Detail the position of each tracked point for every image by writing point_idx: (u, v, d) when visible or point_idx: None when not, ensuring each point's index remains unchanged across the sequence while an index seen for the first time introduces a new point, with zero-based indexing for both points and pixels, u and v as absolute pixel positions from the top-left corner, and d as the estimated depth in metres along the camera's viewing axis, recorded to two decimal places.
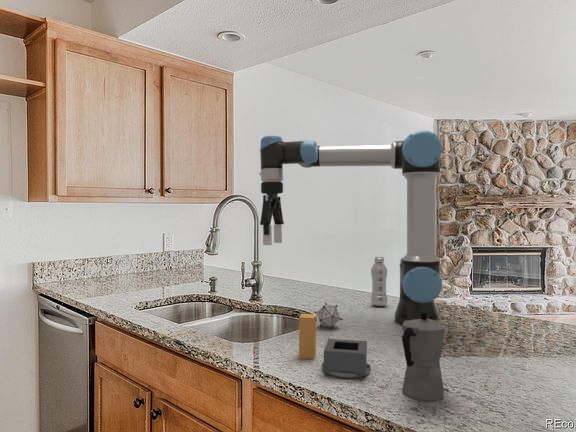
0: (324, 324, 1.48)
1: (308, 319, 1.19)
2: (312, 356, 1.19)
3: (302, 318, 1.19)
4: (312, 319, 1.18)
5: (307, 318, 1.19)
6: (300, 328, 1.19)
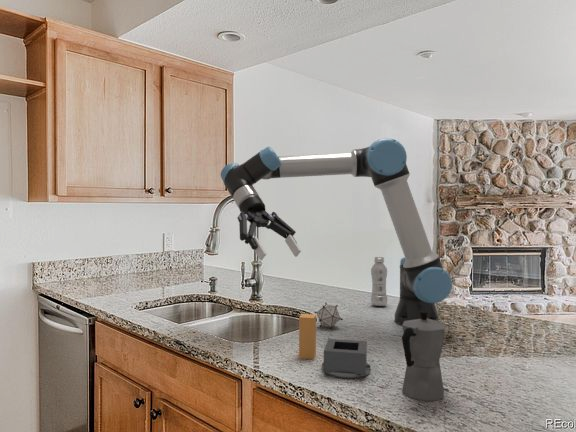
0: (324, 324, 1.48)
1: (308, 319, 1.19)
2: (312, 356, 1.19)
3: (302, 318, 1.19)
4: (312, 319, 1.18)
5: (307, 318, 1.19)
6: (300, 328, 1.19)
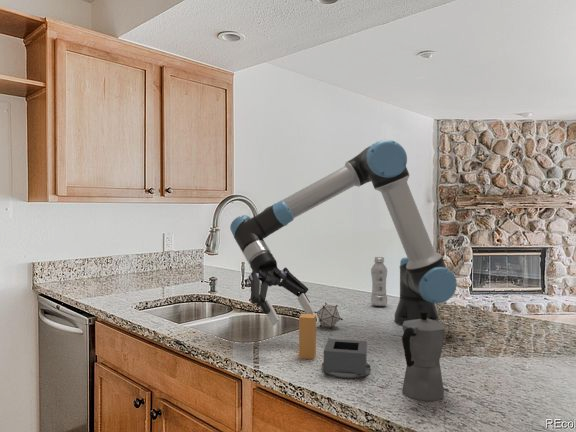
0: (324, 324, 1.48)
1: (308, 319, 1.19)
2: (312, 356, 1.19)
3: (302, 318, 1.19)
4: (312, 319, 1.18)
5: (307, 318, 1.19)
6: (300, 328, 1.19)
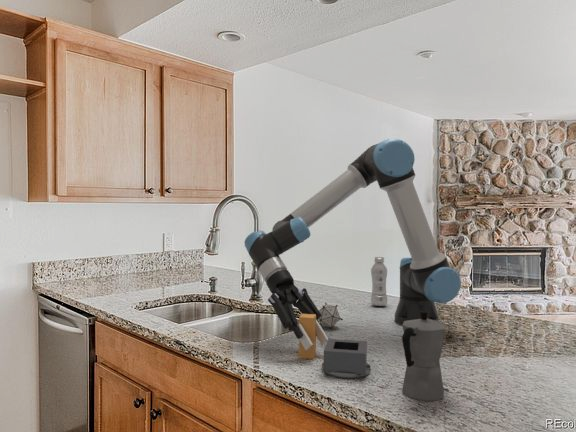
0: (324, 324, 1.48)
1: (308, 319, 1.19)
2: (312, 356, 1.19)
3: (302, 318, 1.19)
4: (312, 319, 1.18)
5: (307, 318, 1.19)
6: None
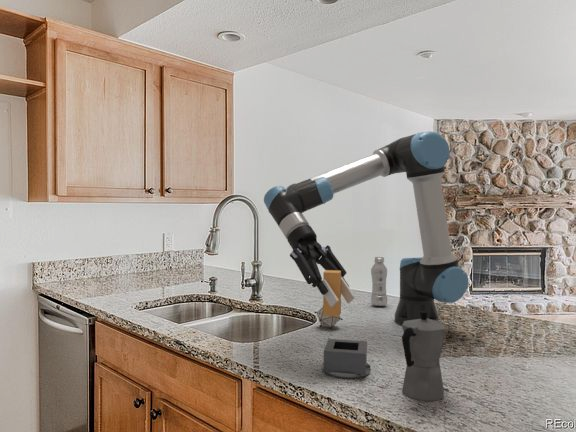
0: (324, 324, 1.48)
1: (333, 274, 1.11)
2: (337, 314, 1.11)
3: (326, 273, 1.11)
4: (337, 274, 1.11)
5: (332, 273, 1.11)
6: None
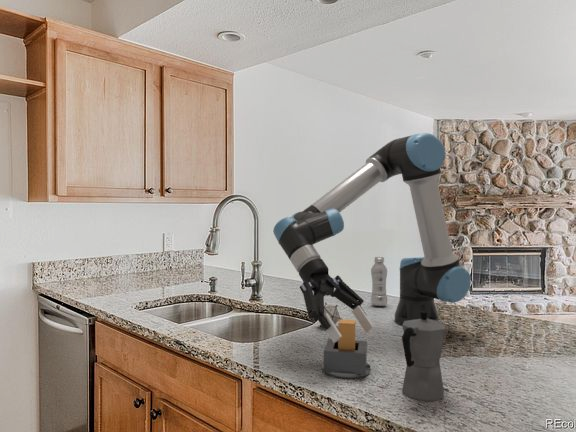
0: None
1: (348, 325, 1.09)
2: None
3: (341, 324, 1.09)
4: (352, 325, 1.09)
5: (347, 324, 1.09)
6: None
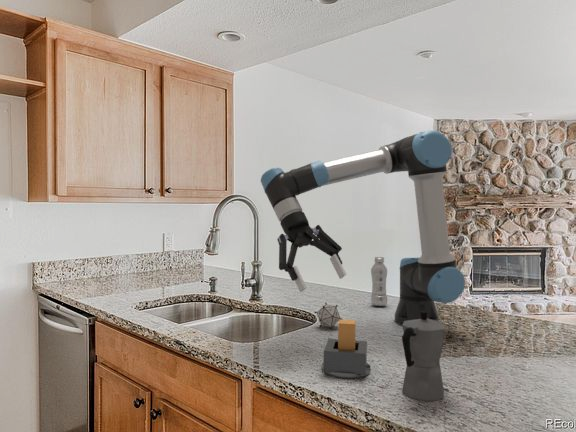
0: (324, 324, 1.48)
1: (348, 325, 1.09)
2: None
3: (341, 324, 1.09)
4: (352, 325, 1.08)
5: (347, 324, 1.09)
6: (339, 335, 1.09)
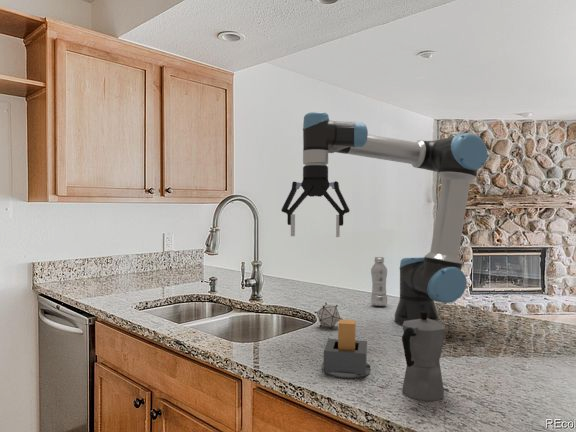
0: (324, 324, 1.48)
1: (348, 325, 1.09)
2: None
3: (341, 324, 1.09)
4: (353, 325, 1.08)
5: (347, 324, 1.09)
6: (339, 335, 1.09)
